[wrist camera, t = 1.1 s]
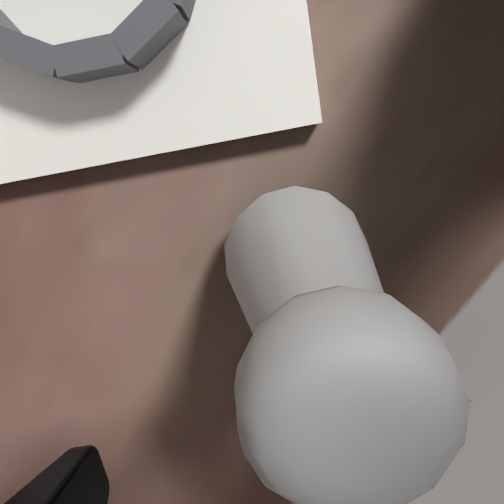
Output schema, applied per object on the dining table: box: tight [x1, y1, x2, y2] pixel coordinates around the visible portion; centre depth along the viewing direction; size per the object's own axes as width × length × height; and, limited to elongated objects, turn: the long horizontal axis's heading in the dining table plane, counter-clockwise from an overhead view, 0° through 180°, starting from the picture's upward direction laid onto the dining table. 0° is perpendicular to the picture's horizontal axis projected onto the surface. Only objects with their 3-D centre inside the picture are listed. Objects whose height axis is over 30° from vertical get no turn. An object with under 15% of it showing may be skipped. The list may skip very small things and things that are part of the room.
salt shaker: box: [224, 186, 471, 504], centre depth 13 cm, size 6×6×13 cm
